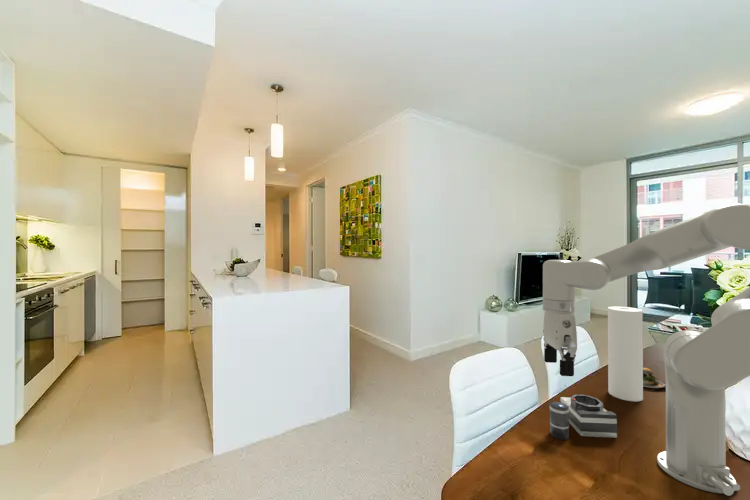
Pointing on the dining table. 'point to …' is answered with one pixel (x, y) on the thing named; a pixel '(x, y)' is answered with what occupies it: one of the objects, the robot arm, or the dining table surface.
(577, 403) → the grey striped block
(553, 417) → the lens
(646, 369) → the white patterned bowl
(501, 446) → the dining table surface
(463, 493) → the dining table surface
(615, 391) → the cylinder container
